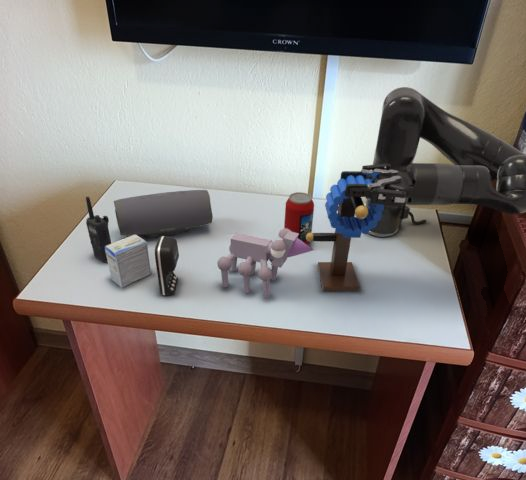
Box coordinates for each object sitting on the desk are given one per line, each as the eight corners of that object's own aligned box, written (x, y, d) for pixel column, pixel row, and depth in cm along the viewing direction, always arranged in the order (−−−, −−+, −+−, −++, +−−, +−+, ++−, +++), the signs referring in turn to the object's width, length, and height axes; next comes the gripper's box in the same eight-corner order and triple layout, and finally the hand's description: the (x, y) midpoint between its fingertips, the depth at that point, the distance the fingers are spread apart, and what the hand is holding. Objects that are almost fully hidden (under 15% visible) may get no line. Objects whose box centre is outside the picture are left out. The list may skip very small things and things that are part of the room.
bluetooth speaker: (205, 217, 134) (203, 181, 127) (213, 234, 128) (212, 197, 121) (118, 228, 128) (111, 191, 122) (122, 247, 122) (115, 209, 115)
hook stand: (300, 266, 118) (309, 169, 102) (351, 266, 118) (367, 169, 103) (308, 311, 105) (319, 208, 89) (364, 311, 106) (385, 209, 90)
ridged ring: (322, 225, 103) (328, 174, 96) (372, 225, 103) (382, 175, 96) (325, 237, 99) (332, 186, 92) (377, 237, 100) (388, 186, 93)
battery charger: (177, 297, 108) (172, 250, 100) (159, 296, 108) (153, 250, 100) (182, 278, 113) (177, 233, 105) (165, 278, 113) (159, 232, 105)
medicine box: (140, 266, 116) (135, 233, 110) (152, 274, 114) (147, 240, 108) (110, 280, 112) (103, 245, 106) (122, 288, 109) (115, 254, 104)
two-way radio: (91, 256, 119) (77, 196, 108) (106, 249, 121) (94, 189, 111) (105, 265, 116) (92, 204, 106) (121, 257, 119) (110, 197, 108)
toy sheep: (315, 283, 113) (321, 228, 104) (301, 310, 105) (307, 254, 96) (232, 264, 117) (231, 210, 108) (214, 289, 110) (211, 234, 101)
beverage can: (308, 251, 123) (313, 205, 115) (281, 247, 124) (283, 202, 116) (312, 237, 128) (316, 192, 120) (285, 234, 129) (288, 189, 120)
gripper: (437, 220, 93) (346, 220, 92) (417, 187, 103) (335, 186, 102) (449, 181, 87) (352, 180, 87) (426, 150, 98) (339, 149, 97)
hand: (343, 183), depth 94 cm, fingers closed on ridged ring, 5 cm apart
